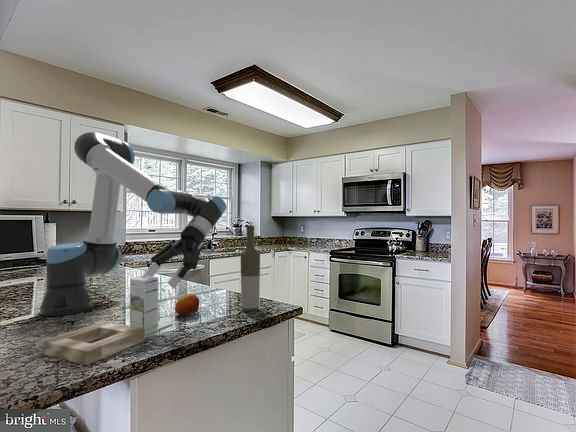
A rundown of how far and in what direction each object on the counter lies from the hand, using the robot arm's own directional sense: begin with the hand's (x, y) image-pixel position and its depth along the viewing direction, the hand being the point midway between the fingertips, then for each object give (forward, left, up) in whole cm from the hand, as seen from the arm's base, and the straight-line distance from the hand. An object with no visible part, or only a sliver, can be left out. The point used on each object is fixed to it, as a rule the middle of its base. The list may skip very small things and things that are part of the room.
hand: (156, 283), depth 100 cm
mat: (-1, -3, -13) cm, 13 cm away
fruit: (+1, +13, -13) cm, 19 cm away
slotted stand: (-1, -19, -13) cm, 23 cm away
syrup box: (-2, -3, -12) cm, 13 cm away
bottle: (+18, +26, -13) cm, 34 cm away
